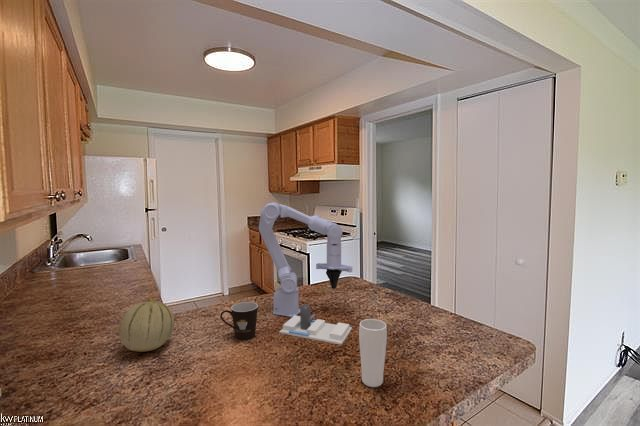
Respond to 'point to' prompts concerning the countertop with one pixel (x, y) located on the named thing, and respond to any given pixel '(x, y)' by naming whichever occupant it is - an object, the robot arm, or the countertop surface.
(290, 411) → the countertop surface
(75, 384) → the countertop surface
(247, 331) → the coffee mug
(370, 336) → the drinking glass
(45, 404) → the countertop surface
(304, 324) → the dark grey rounded piece
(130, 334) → the cantaloupe
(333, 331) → the white slotted board
